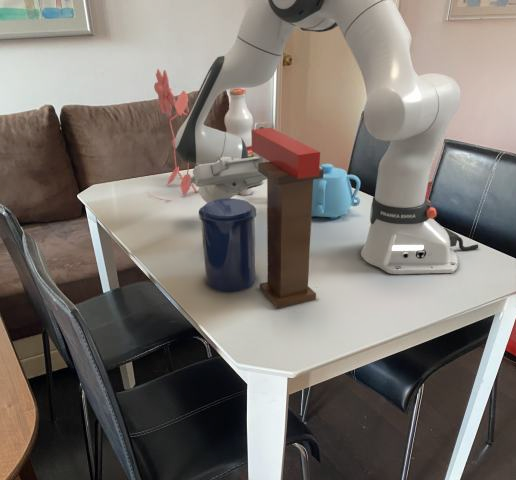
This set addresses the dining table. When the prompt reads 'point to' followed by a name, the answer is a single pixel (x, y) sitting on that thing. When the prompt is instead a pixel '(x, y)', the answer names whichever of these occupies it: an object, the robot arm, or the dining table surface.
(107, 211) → the dining table surface
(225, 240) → the pot
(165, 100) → the figurine
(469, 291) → the dining table surface
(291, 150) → the red rectangular block
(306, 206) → the stand
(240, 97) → the fruit juice
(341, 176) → the decorative pot
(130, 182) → the dining table surface
